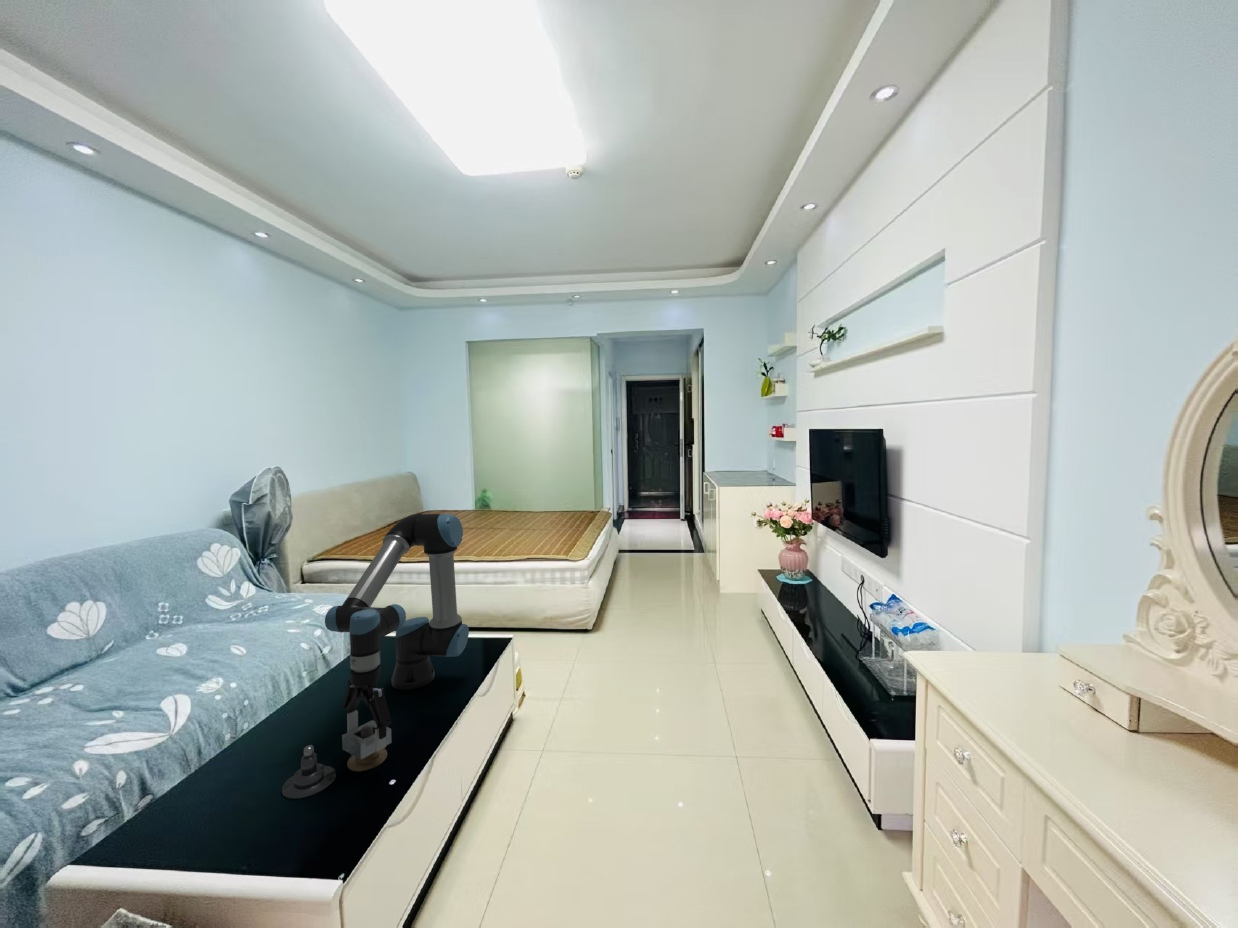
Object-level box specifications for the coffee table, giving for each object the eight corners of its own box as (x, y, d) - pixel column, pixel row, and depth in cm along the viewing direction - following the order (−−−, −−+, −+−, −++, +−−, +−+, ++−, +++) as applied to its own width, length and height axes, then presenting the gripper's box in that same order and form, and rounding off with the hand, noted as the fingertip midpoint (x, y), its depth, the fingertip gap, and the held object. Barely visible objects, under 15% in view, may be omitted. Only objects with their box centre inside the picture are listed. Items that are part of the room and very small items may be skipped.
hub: (321, 762, 137) (320, 729, 136) (345, 777, 130) (344, 742, 130) (273, 788, 126) (272, 752, 126) (296, 805, 120) (295, 767, 120)
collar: (373, 733, 144) (372, 719, 144) (391, 742, 139) (391, 728, 139) (342, 749, 136) (342, 735, 136) (360, 759, 131) (360, 745, 131)
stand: (373, 744, 145) (373, 715, 144) (394, 755, 139) (393, 725, 139) (339, 763, 136) (339, 732, 136) (360, 775, 131) (359, 743, 131)
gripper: (327, 662, 140) (328, 734, 141) (379, 682, 127) (380, 762, 128) (353, 653, 147) (354, 722, 147) (404, 671, 134) (405, 748, 134)
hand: (366, 741), depth 137 cm, fingers open, 13 cm apart
